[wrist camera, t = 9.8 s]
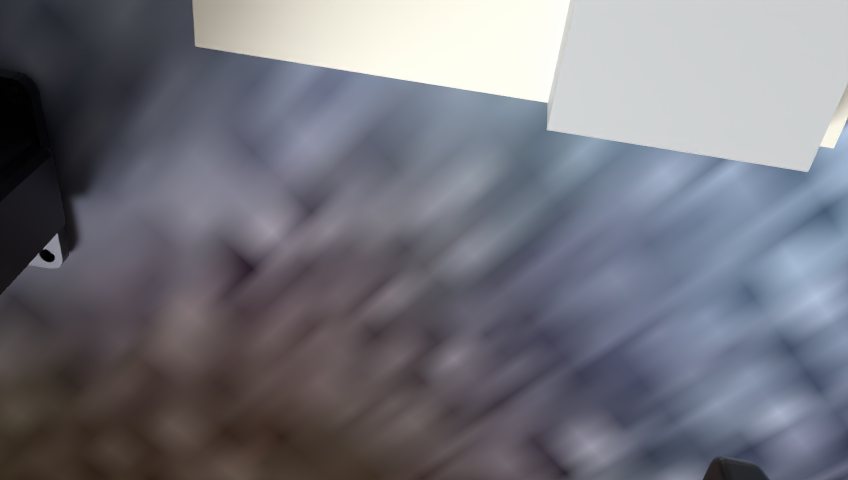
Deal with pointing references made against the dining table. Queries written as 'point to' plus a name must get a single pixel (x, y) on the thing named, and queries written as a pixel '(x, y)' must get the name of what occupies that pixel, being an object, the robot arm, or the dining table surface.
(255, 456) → the dining table surface
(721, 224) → the dining table surface
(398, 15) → the tile
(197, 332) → the dining table surface
